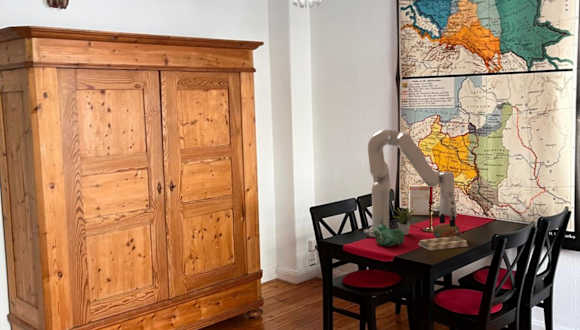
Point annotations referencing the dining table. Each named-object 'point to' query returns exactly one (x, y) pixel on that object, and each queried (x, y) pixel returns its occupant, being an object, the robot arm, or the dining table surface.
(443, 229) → the tin
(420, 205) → the coffeecake box
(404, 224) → the house plant
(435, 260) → the dining table surface
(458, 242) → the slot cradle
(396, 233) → the mineral
